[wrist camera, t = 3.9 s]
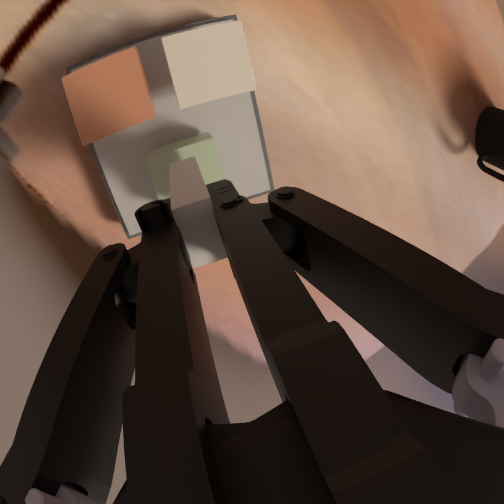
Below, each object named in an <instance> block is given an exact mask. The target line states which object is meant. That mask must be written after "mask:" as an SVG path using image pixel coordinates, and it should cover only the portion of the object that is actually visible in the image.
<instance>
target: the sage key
mask: <svg viewBox="0 0 504 504" xmlns="http://www.w3.org/2000/svg"><path fill="white" fill-rule="evenodd" d="M193 156H195V159H196V161H197V164H198V166H199V169H200V172H201V174H202V177H203V179H204V182H205V185H207V184H210V183H213V182H216V181H220V180H223V179H224V177H223V173H222V169H221V165H220V162H219V158H218V154H217V150H216V147H215V143H214V139H213V137H212V136H211V135H210V134H209V133H208V132H206V133H202V134H199V135H196V136H192V137H189V138H186V139H183V140H180V141H176V142H173V143H170V144H167V145H164V146H162V147H159V148H156V149H153V150H150V151H147V154H146V157H145V163H146V166H147V169H148V172H149V175H150V177H151V180H152V183H153V186H154V189H155V191H156V194H157V197H158V200H160V199H163V200H164V199H167V198H170V176H169V164H172V163H175V162H178V161H181V160H184V159H187V158H190V157H193Z"/></svg>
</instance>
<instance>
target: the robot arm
mask: <svg viewBox="0 0 504 504" xmlns="http://www.w3.org/2000/svg"><path fill="white" fill-rule="evenodd" d="M169 176H170V198H167V199H164V200H163V199H160V200H155V201H151V202H149V203H146V204H144V205H143V206H141V207H140V208H138V209H137V210H136V211H135V213H134V215H135V218H136V220H137V222H138V225H139V227H140V229H141V231H142V238H141V242H140V243H139V244H138V245H136V246H134V247H132V248H131V249H129V250H127V249H126V247H125V245H124V244H122V243H117V244H113V245H109V246H107V247H105V248H104V249H103V250H102V251H101V252H100V253H99V254H98V255H97V256H96V258H95V259H94V261H93V263H92V265H91V266H90V268H89V270H88V271H87V273H86V275H85V277H84V279H83V280H82V282H81V284H80V286H79V288H78V289H77V291H76V293H75V295H74V297H73V299H72V300H71V302H70V304H69V306H68V308H67V310H66V312H65V314H64V316H63V318H62V320H61V322H60V324H59V326H58V328H57V330H56V333H55V334H54V337H53V339H52V341H51V343H50V345H49V347H48V350H47V352H46V354H45V356H44V359H43V361H42V363H41V366H40V368H39V370H38V373H37V375H36V378H35V380H34V383H33V386H32V388H31V391H30V394H29V396H28V399H27V402H26V404H25V407H24V410H23V413H22V416H21V419H20V422H19V425H18V428H17V431H16V435H15V438H14V441H13V445H12V446H11V448H10V450H9V452H8V453H7V455H6V457H5V459H4V461H3V462H2V464H1V466H0V504H106V501H107V498H108V495H109V491H110V488H111V484H112V478H113V474H114V468H115V461H116V455H117V450H118V444H119V439H120V433H121V427H122V423H123V436H124V451H125V452H124V453H125V466H126V475H127V480H126V481H125V483H124V485H123V487H122V488H121V490H120V492H119V494H118V495H117V497H116V499H115V501H114V502H113V504H504V295H503V294H500V293H497V292H494V291H490V290H488V289H485V288H484V287H482V286H481V285H479V284H478V283H476V282H475V281H473V280H471V279H469V278H468V277H467V276H465V275H463V274H462V273H460V272H458V271H457V270H455V269H453V268H452V267H450V266H448V265H447V264H445V263H443V262H442V261H440V260H438V259H436V258H435V257H433V256H431V255H430V254H428V253H426V252H424V251H423V250H421V249H419V248H417V247H415V246H414V245H412V244H410V243H408V242H406V241H404V240H403V239H401V238H399V237H397V236H395V235H393V234H392V233H390V232H388V231H386V230H384V229H382V228H380V227H378V226H376V225H374V224H372V223H370V222H368V221H367V220H365V219H363V218H361V217H359V216H357V215H355V214H353V213H351V212H349V211H347V210H344V209H342V208H340V207H338V206H336V205H334V204H332V203H330V202H328V201H326V200H324V199H322V198H319V197H317V196H315V195H313V194H311V193H309V192H306V191H304V190H302V189H300V188H296V187H289V186H287V187H281V188H279V189H276V190H274V191H272V192H271V193H270V194H269V195H268V203H260V204H251V203H250V202H249V201H248V199H247V198H246V197H245V196H241V195H239V193H238V192H237V190H236V189H235V187H234V186H233V184H232V182H231V181H229V180H226V179H223V180H220V181H216V182H213V183H210V184H207V185H205V182H204V179H203V177H202V174H201V172H200V169H199V166H198V164H197V161H196V159H195V156H193V157H190V158H187V159H184V160H181V161H178V162H175V163H172V164H169ZM227 257H228V259H229V262H230V265H231V269H232V272H233V275H234V278H235V279H236V282H237V284H238V287H239V290H240V292H241V295H242V298H243V301H244V303H245V306H246V309H247V311H248V314H249V317H250V319H251V322H252V324H253V327H254V330H255V332H256V335H257V338H258V340H259V343H260V346H261V348H262V351H263V353H264V356H265V358H266V361H267V364H268V366H269V369H270V371H271V374H272V376H273V379H274V381H275V384H276V387H277V389H278V392H279V394H280V397H281V399H282V402H283V403H282V404H280V405H278V406H277V407H275V408H273V409H272V410H270V411H269V412H267V413H265V414H264V415H262V416H260V417H259V418H257V419H255V420H253V421H251V422H247V423H234V424H230V421H229V418H228V415H227V411H226V408H225V403H224V400H223V396H222V392H221V388H220V384H219V380H218V376H217V372H216V368H215V364H214V360H213V355H212V351H211V347H210V343H209V338H208V334H207V329H206V325H205V320H204V315H203V311H202V306H201V301H200V296H199V291H198V287H197V281H196V276H195V273H194V271H193V268H197V267H200V266H203V265H206V264H209V263H212V262H215V261H218V260H221V259H224V258H227ZM191 263H192V266H193V268H192V266H191ZM294 270H295V271H296V272H297V273H299V274H300V275H301V276H302V277H303V278H305V279H306V280H307V281H308V282H309V283H311V284H312V285H313V286H314V287H316V288H317V289H318V290H319V291H320V292H322V293H323V294H324V295H325V296H326V297H328V298H329V299H330V300H331V301H333V302H334V303H335V304H336V305H337V306H339V307H340V308H341V309H342V310H343V311H345V312H346V313H347V314H348V315H349V316H351V317H352V318H353V319H354V320H355V321H357V322H358V323H359V324H360V325H361V326H363V327H364V328H365V329H366V330H367V331H369V332H370V333H371V334H372V335H373V336H375V337H376V338H377V339H378V340H379V341H381V342H382V343H383V344H384V345H385V346H386V347H388V348H389V349H390V350H391V351H393V352H394V353H395V354H396V355H397V356H399V358H401V359H402V360H403V361H404V362H406V363H407V364H408V365H409V366H410V367H411V368H413V369H414V370H415V371H416V372H417V373H419V374H420V375H421V376H422V377H424V378H425V379H426V380H428V381H429V382H430V383H432V384H434V385H435V386H437V387H439V388H440V389H442V390H444V391H446V392H448V393H450V394H452V398H453V401H454V410H455V412H456V413H457V414H454V413H451V412H448V411H444V410H442V409H439V408H436V407H433V406H429V405H427V404H424V403H421V402H418V401H416V400H413V399H410V398H407V397H404V396H402V395H399V394H396V393H393V392H390V391H387V390H383V389H382V388H381V386H380V385H379V383H378V381H377V380H376V378H375V377H374V375H373V374H372V372H371V370H370V369H369V367H368V366H367V364H366V363H365V361H364V359H363V358H362V356H361V355H360V353H359V352H358V350H357V349H356V347H355V346H354V344H353V343H352V341H351V339H350V338H349V336H348V335H347V333H346V332H345V330H344V329H343V328H342V326H341V325H340V324H339V323H338V322H336V321H332V322H327V320H326V319H325V317H324V316H323V314H322V313H321V311H320V310H319V308H318V306H317V305H316V303H315V302H314V300H313V299H312V297H311V295H310V294H309V292H308V291H307V289H306V288H305V286H304V285H303V283H302V281H301V280H300V278H299V277H298V275H297V274H296V272H295V271H294ZM115 298H116V299H117V301H118V304H117V307H116V304H115ZM134 368H135V385H134V386H131V381H132V377H133V373H134ZM465 416H468V417H469V418H467V417H465Z"/></svg>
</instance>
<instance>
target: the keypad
mask: <svg viewBox="0 0 504 504" xmlns="http://www.w3.org/2000/svg"><path fill="white" fill-rule="evenodd" d="M232 21H237V17H236V15H231V16H225V17H219V18H214V19H209V20H204V21H199V22H195V23H190V24H186V25H182V26H178V27H175V28H171V29H167V30H164V31H160V32H157V33H154V34H150V35H147V36H144V37H141V38H138V39H135V40H132V41H129V42H127V43H124V44H121V45H119V46H116V47H113V48H111V49H108V50H106V51H103V52H101V53H99V54H96V55H94V56H92V57H89V58H87V59H85V60H83V61H81V62H78V63H76V64H74V65H72V66H70V67H68V68H66V71H67V75H68V74H70V73H72V72H74V71H76V70H78V69H80V68H83V67H85V66H87V65H89V64H91V63H94V62H96V61H98V60H101V59H103V58H105V57H108V56H110V55H113V54H116V53H118V52H121V51H123V50H126V49H129V48H132V47H136V49H137V50H138V51H139V53H140V57H141V60H142V64H143V68H144V72H145V75H146V79H147V82H148V86H149V90H150V93H151V97H152V100H153V104H154V107H155V110H156V116H155V118H153V119H150V120H148V121H145V122H142V123H139V124H136V125H134V126H131V127H129V128H126V129H123V130H121V131H118V132H116V133H113V134H111V135H108V136H106V137H104V138H101V139H99V140H97V141H94V142H92V143H90V144H89V145H90V148H91V151H92V153H93V156H94V159H95V161H96V164H97V167H98V169H99V172H100V175H101V177H102V180H103V182H104V185H105V187H106V190H107V192H108V194H109V197H110V199H111V202H112V204H113V206H114V209H115V211H116V213H117V216H118V218H119V220H120V222H121V225H122V227H123V229H124V231H125V233H126V236H127V238H128V239H130V238H133V237H136V236H139V235H142V231H141V229H140V227H139V225H138V222H137V220H136V218H135V215H134V213H135V211H136V210H137V209H138V208H140V207H141V206H143V205H144V204H146V203H149V202H151V201H155V200H158V197H157V194H156V191H155V189H154V186H153V183H152V180H151V177H150V175H149V172H148V169H147V166H146V163H145V157H146V154H147V151H150V150H153V149H156V148H159V147H162V146H164V145H167V144H170V143H173V142H176V141H180V140H183V139H186V138H189V137H192V136H196V135H199V134H202V133H206V132H208V133H209V134H210V135H211V136H212V137H213V139H214V143H215V147H216V150H217V154H218V158H219V162H220V165H221V169H222V173H223V177H224V179H226V180H229V181H231V182H232V184H233V186H234V187H235V189H236V190H237V192H238V193H239V195H241V196H245V197H246V198H247V199H251V198H254V197H257V196H261V195H264V194H267V193H271V192H272V191H274V186H273V180H272V175H271V170H270V165H269V160H268V155H267V150H266V145H265V140H264V136H263V131H262V126H261V121H260V117H259V112H258V107H257V103H256V98H255V94H254V91H250V92H245V93H241V94H237V95H232V96H228V97H224V98H220V99H216V100H212V101H209V102H205V103H201V104H198V105H194V106H191V107H187V108H184V109H181V110H180V108H179V105H178V102H177V98H176V94H175V91H174V87H173V83H172V80H171V76H170V72H169V68H168V65H167V61H166V57H165V53H164V49H163V46H162V39H161V38H163V37H166V36H170V35H173V34H177V33H181V32H185V31H189V30H193V29H197V28H201V27H206V26H211V25H216V24H221V23H227V22H232Z"/></svg>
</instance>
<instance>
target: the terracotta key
mask: <svg viewBox="0 0 504 504" xmlns="http://www.w3.org/2000/svg"><path fill="white" fill-rule="evenodd" d="M61 79H62V83H63V86H64V90H65V93H66V97H67V100H68V103H69V107H70V110H71V113H72V116H73V119H74V122H75V125H76V128H77V131H78V134H79V137H80V140H81V143H82V146H85V145H88V144H90V143H92V142H94V141H97V140H99V139H101V138H104V137H106V136H108V135H111V134H113V133H116V132H118V131H121V130H123V129H126V128H129V127H131V126H134V125H136V124H139V123H142V122H145V121H148V120H150V119H153V118H155V116H156V110H155V107H154V104H153V100H152V97H151V93H150V90H149V86H148V82H147V79H146V75H145V72H144V68H143V64H142V60H141V57H140V53H139V51H138V50H137V49H136V47H132V48H129V49H126V50H123V51H121V52H118V53H116V54H113V55H110V56H108V57H105V58H103V59H101V60H98V61H96V62H94V63H91V64H89V65H87V66H85V67H83V68H80V69H78V70H76V71H74V72H72V73H70V74H68V75H66V76H64V77H62V78H61Z"/></svg>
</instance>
